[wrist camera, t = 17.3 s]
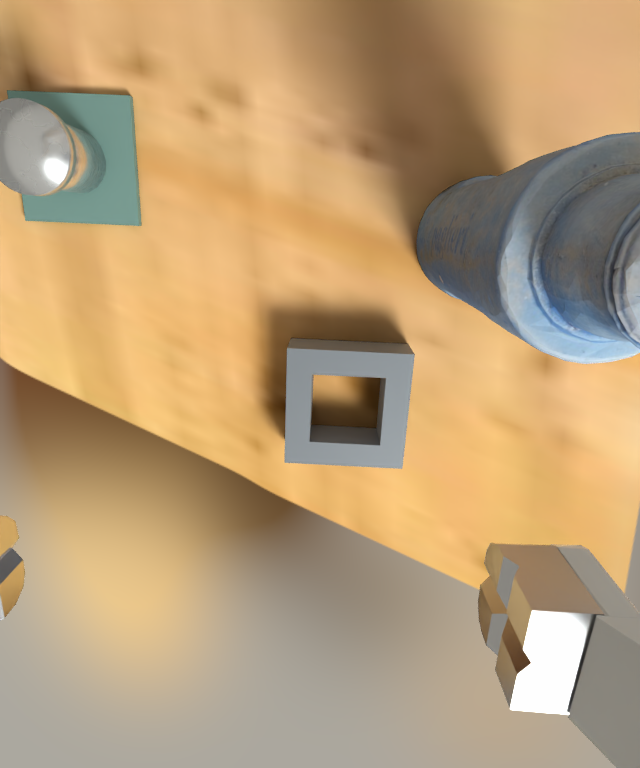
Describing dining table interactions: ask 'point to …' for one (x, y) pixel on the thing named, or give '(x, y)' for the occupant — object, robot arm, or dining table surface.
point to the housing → (340, 441)
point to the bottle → (547, 249)
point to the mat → (117, 139)
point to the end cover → (46, 152)
